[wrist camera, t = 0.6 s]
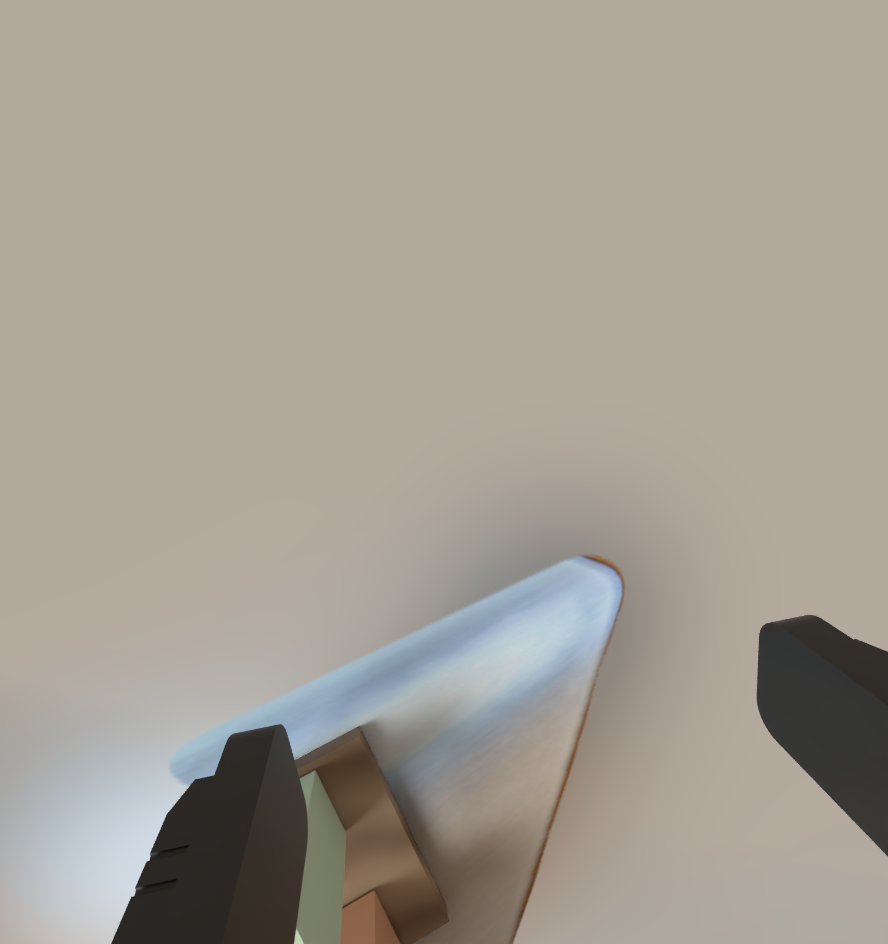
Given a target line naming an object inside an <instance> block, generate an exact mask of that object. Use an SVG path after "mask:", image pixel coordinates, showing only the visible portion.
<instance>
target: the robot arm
mask: <svg viewBox="0 0 888 944" xmlns="http://www.w3.org/2000/svg"><path fill="white" fill-rule="evenodd" d="M757 679H758V680H757V705H758V709H759V712H760V715H761V718H762V720H763V722H764V724H765V726H766V728H767V729H768V731H769V732H770V734H771V735H772V736H773V738H774V739H775V740H776V741H777V742H778V743H779V744H780V745H781V746H782V747H783V748H784V749H785V750H786V751H787V752H788V753H789V755H790V756H791V757H792V758H793V759H795V761H796V762H797V763H798V764H799V765H800V766H801V767H802V768H803V769H804V770H805V771H806V772H807V773H808V774H809V775H810V776H811V777H812V778H813V779H814V780H815V781H816V782H817V783H818V785H819V786H820V787H821V788H822V789H823V790H824V791H825V792H826V793H827V794H828V795H829V796H830V797H831V798H832V799H833V800H834V801H835V802H836V803H837V804H838V805H839V806H840V807H841V808H842V809H843V810H844V811H845V812H846V814H847V815H848V816H849V817H850V818H851V819H852V820H853V821H854V822H855V823H856V824H857V825H858V826H859V827H860V828H861V829H862V830H863V831H864V832H865V833H866V834H867V835H868V836H869V837H870V838H871V839H872V840H873V841H874V842H875V844H877V846H878V847H879V848H880V849H881V850H882V851H883V852H884V853H885V854H886V855H887V856H888V652H887V651H884V650H882V649H879V648H877V647H874V646H872V645H869V644H867V643H864V642H862V641H859V640H857V639H854V640H853V639H852V638H850V637H849V636H847V635H846V634H844V633H843V632H841V631H839V630H838V629H836V628H835V627H833V626H832V625H830V624H829V623H827V622H826V621H824V620H823V619H821V618H819V617H817V616H813V615H805V616H800V617H796V618H791V619H786V620H781V621H776V622H771V623H767V624H765V625H764V626H763V627H762V628H761V630H760V634H759V655H758V677H757ZM307 842H308V817H307V808H306V801H305V797H304V793H303V790H302V786H301V782H300V779H299V775H298V771H297V768H296V764H295V761H294V757H293V753H292V750H291V746H290V742H289V739H288V735H287V732H286V730H285V728H284V726H283V725H281V724H279V725H274V726H269V727H264V728H259V729H254V730H250V731H245V732H240V733H235V734H232V735H231V736H230V737H229V738H228V740H227V742H226V745H225V748H224V750H223V753H222V756H221V759H220V761H219V764H218V767H217V770H216V772H215V775H214V776H209V777H205V778H200V779H195V780H194V782H193V783H192V784H191V785H190V786H189V788H188V789H187V790H186V791H185V793H184V794H183V795H182V796H181V798H180V799H179V800H178V801H177V803H176V804H175V805H174V806H173V808H172V809H171V810H170V811H169V812H168V814H167V815H166V818H165V820H164V822H163V825H162V827H161V830H160V832H159V834H158V836H157V839H156V841H155V843H154V846H153V848H152V850H151V853H150V855H151V857H150V861H147V862H146V864H145V867H144V869H143V871H142V873H141V876H140V878H139V880H138V883H137V885H136V893H135V896H134V897H131V899H130V901H129V904H128V906H127V908H126V911H125V913H124V915H123V918H122V920H121V922H120V925H119V927H118V929H117V932H116V934H115V936H114V939H113V941H112V943H111V944H294V941H295V933H296V926H297V918H298V911H299V903H300V896H301V888H302V881H303V873H304V866H305V858H306V851H307Z"/></svg>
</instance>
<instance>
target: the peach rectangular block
mask: <svg viewBox="0 0 888 944" xmlns="http://www.w3.org/2000/svg"><path fill="white" fill-rule="evenodd" d="M340 944H400V942H399V940H398V938H397V936H396V934H395V932H394V929H393V927H392V925H391V923H390V921H389V919H388V917H387V915H386V913H385V911H384V909H383V907H382V905H381V903H380V901H379V899H378V897H377V895H376V893H375V891H372V892H370V893H369V894H367V895H365V896H363V897H362V898H360V899H358V900H357V901H355V902H353V903H351V904H350V905H348V906H346V907H345V908H343V909H342V924H341V942H340Z"/></svg>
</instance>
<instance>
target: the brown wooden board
mask: <svg viewBox="0 0 888 944" xmlns="http://www.w3.org/2000/svg"><path fill="white" fill-rule="evenodd" d="M295 764H296V768H297V771H298V775H299V779H300V778H302V777H303V776H305V775H307V774H309V773H311V772H313V771H315V770H316V772H317V774H318V776H319V779H320V781H321V783H322V785H323V787H324V789H325V791H326V793H327V795H328V797H329V799H330V801H331V803H332V805H333V807H334V809H335V811H336V813H337V815H338V817H339V819H340V821H341V823H342V825H343V827H344V830H345V832H346V852H345V870H344V888H343V906H342V909H343V908H345V907H346V906H348V905H350V904H351V903H353V902H355V901H357V900H358V899H360V898H362V897H363V896H365V895H367V894H369V893H370V892H372V891H375V893H376V895H377V897H378V899H379V901H380V903H381V905H382V907H383V909H384V911H385V913H386V915H387V917H388V919H389V921H390V923H391V925H392V927H393V929H394V932H395V934H396V936H397V938H398V940H399V942H400V944H412V943H414V942H416V941H417V940H419V939H421V938H422V937H424V936H426V935H427V934H429V933H430V932H432V931H434V930H435V929H437V928H439V927H440V926H442V925H444V924H445V923H447V922H449V920H448V915H447V909H446V904H445V902H444V900H443V898H442V896H441V894H440V892H439V890H438V888H437V886H436V884H435V882H434V879H433V877H432V875H431V873H430V871H429V869H428V867H427V865H426V863H425V861H424V859H423V857H422V855H421V853H420V850H419V848H418V846H417V844H416V842H415V840H414V838H413V836H412V834H411V832H410V830H409V828H408V826H407V824H406V821H405V819H404V817H403V815H402V813H401V811H400V809H399V807H398V805H397V803H396V801H395V799H394V797H393V795H392V792H391V790H390V788H389V786H388V784H387V782H386V780H385V778H384V776H383V774H382V772H381V770H380V768H379V766H378V764H377V761H376V759H375V757H374V755H373V753H372V751H371V749H370V747H369V745H368V743H367V741H366V739H365V737H364V735H363V732H362V730H361V728H360V726H359V727H357V728H355V729H353V730H352V731H350V732H348V733H346V734H344V735H342V736H340V737H338V738H337V739H335V740H333V741H331V742H329V743H327V744H325V745H323V746H322V747H320V748H318V749H316V750H314V751H312V752H310V753H308V754H307V755H305V756H303V757H301V758H299V759H297V760H295Z"/></svg>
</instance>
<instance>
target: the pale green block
mask: <svg viewBox="0 0 888 944" xmlns="http://www.w3.org/2000/svg"><path fill="white" fill-rule="evenodd" d="M300 782H301V786H302V790H303V793H304V797H305V801H306V808H307V817H308V842H307V851H306V858H305V866H304V873H303V881H302V888H301V896H300V903H299V911H298V918H297V926H296V933H295V941H294V944H340V942H341V924H342V906H343V888H344V870H345V852H346V832H345V830H344V827H343V825H342V823H341V821H340V819H339V817H338V815H337V813H336V811H335V809H334V807H333V805H332V803H331V801H330V799H329V797H328V795H327V793H326V791H325V789H324V787H323V785H322V783H321V781H320V779H319V776H318V774H317V772H316V770H315V771H313V772H311V773H309V774H307V775H305V776H303V777H302V778H300Z"/></svg>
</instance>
